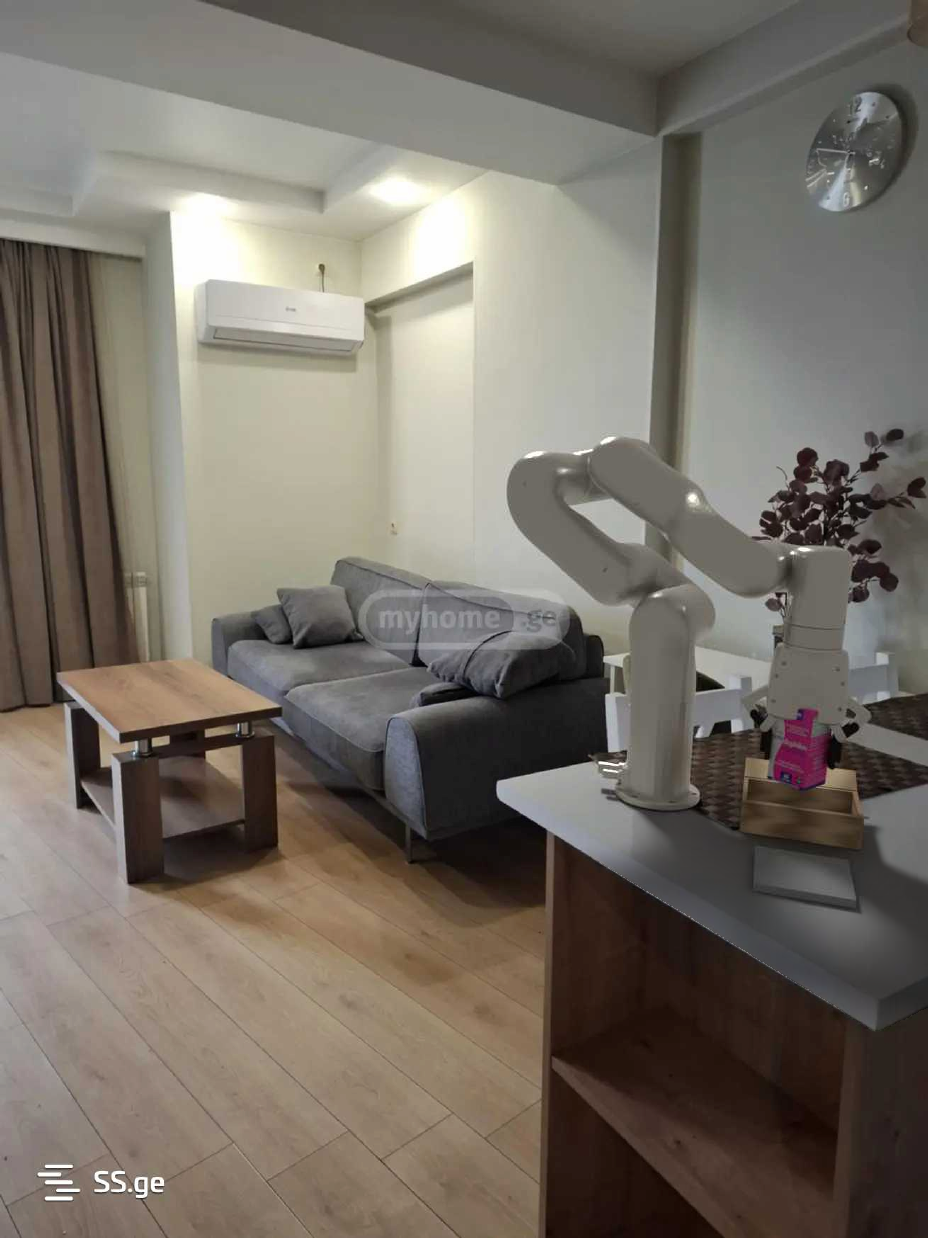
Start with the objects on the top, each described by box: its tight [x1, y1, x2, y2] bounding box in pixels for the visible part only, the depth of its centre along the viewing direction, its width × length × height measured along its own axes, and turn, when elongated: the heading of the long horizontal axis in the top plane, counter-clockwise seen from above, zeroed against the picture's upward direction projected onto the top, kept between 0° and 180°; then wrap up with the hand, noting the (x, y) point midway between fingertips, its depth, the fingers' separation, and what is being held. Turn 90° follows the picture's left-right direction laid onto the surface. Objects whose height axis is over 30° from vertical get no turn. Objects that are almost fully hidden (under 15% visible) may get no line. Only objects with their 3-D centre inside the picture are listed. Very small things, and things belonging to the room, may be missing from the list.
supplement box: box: [767, 708, 833, 791], centre depth 115 cm, size 6×6×12 cm
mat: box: [752, 845, 857, 910], centre depth 101 cm, size 11×11×1 cm
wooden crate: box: [739, 757, 870, 851], centre depth 116 cm, size 15×19×6 cm
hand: (798, 761), depth 115 cm, fingers closed on supplement box, 7 cm apart
